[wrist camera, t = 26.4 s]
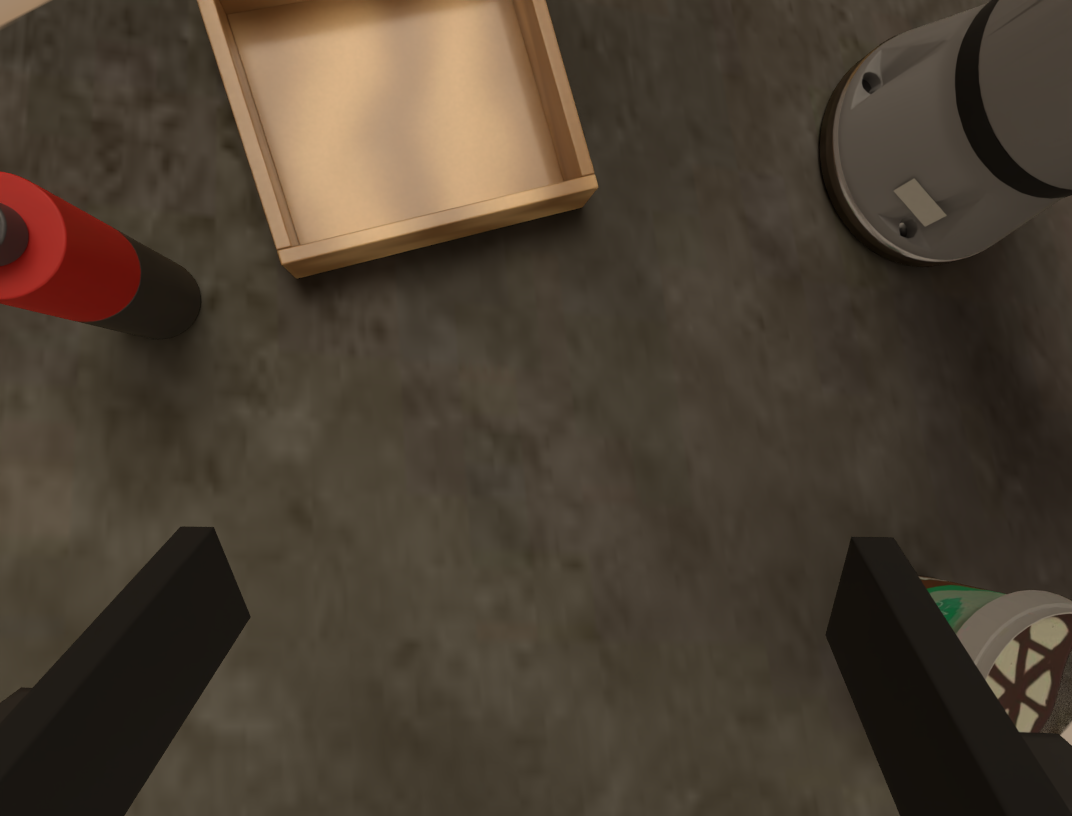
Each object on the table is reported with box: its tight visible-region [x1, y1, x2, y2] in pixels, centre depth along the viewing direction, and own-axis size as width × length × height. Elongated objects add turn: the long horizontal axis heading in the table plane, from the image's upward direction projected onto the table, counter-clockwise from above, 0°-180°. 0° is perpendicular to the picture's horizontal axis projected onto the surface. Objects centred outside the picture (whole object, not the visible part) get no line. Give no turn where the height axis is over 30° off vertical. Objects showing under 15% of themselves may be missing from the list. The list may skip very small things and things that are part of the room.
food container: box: [919, 576, 1072, 733], centre depth 36 cm, size 12×6×10 cm, turn 151°
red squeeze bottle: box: [0, 172, 201, 339], centre depth 25 cm, size 4×4×15 cm
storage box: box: [197, 0, 598, 279], centre depth 33 cm, size 18×16×4 cm
